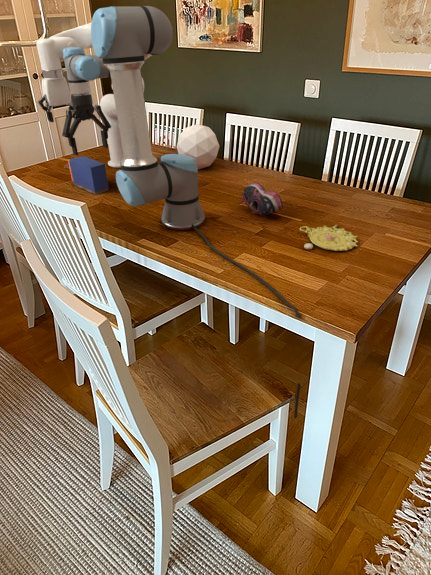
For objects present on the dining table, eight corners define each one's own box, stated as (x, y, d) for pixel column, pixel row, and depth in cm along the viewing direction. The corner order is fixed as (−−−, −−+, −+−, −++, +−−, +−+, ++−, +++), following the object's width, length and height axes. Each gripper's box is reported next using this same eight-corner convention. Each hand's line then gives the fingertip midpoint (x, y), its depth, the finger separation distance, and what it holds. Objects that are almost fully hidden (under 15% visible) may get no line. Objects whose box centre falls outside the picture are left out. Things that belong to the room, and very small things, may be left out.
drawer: (65, 178, 198) (60, 157, 193) (76, 175, 201) (72, 154, 196) (91, 189, 184) (86, 167, 179) (102, 186, 187) (98, 164, 182)
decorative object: (343, 255, 128) (285, 234, 139) (342, 262, 130) (284, 241, 140) (372, 230, 142) (317, 213, 152) (371, 237, 143) (316, 219, 153)
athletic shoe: (254, 181, 170) (227, 189, 167) (283, 176, 151) (253, 185, 147) (260, 210, 173) (234, 218, 170) (290, 209, 154) (261, 219, 150)
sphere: (204, 184, 208) (201, 158, 189) (171, 163, 213) (165, 136, 194) (227, 156, 213) (227, 128, 194) (194, 137, 217) (191, 107, 199)
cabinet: (74, 185, 192) (69, 159, 186) (87, 181, 196) (83, 156, 190) (95, 194, 182) (90, 167, 176) (109, 190, 186) (104, 163, 180)
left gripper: (68, 71, 182) (76, 115, 191) (27, 76, 172) (38, 122, 181) (77, 72, 177) (85, 117, 187) (36, 77, 167) (47, 124, 177)
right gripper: (104, 88, 176) (112, 142, 187) (45, 97, 162) (57, 155, 173) (114, 90, 171) (122, 146, 183) (54, 99, 157) (66, 159, 168)
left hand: (62, 119), depth 184 cm, fingers open, 9 cm apart
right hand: (90, 150), depth 178 cm, fingers open, 13 cm apart
